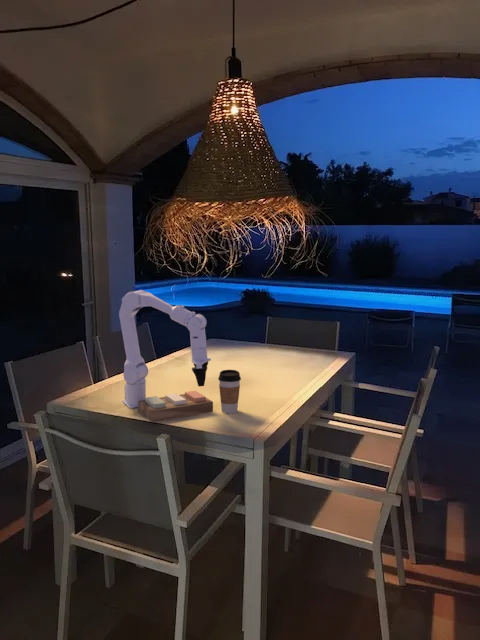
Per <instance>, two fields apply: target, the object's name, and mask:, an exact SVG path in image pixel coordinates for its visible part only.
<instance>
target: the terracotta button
mask: <svg viewBox="0 0 480 640" xmlns="http://www.w3.org/2000/svg"><path fill="white" fill-rule="evenodd" d="M184 394H185V397H187V398H188V399H190V400H191V401H193V402H201V401H206V398H207V397H206V396H205V395H204V394H202V393H200V392H199V391H197V390H192V391H191V390H190V391H185V392H184Z"/></svg>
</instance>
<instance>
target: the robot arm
mask: <svg viewBox="0 0 480 640" xmlns="http://www.w3.org/2000/svg"><path fill="white" fill-rule="evenodd" d="M144 307H152V308H153V309H156V310H159V311H161V312H162V313H165V314H168V315H169V317H170V319H171V320H172V321H175V322H176V323H178V324H180V325H182V326H185V327H186V328H187V330H188V331H189V337H190V339H189V340H190V352H191V353H190V354H191V363H192V364H193V366H194V367H192V368H191V371H192V373H193V374H194V376H195V379H196V383H197V386H198V387H205V382H206V378H207V377H206V376H207V371H208V365H209V362H210V361H211V360H212V359H211V357H208V348H207V335H206V327H207V323H208V322H207V318H205V316H204V315H203V314H201V313H197V314H196V312H195V311H190V310H188V309H187V308H185V306H184V305H182V304H181V305H175V306H173V305H171V304H170V303H168V302H166V301H165V300H163V299H160V298H159V297H157V296H156V295H154V294H152V293H151V292H149V291H145V290H144V289H138V290H135V291H129V292H127V293H126V294H125V295H124V296H123V297H122V298H121V304H120V309H119V311H118V317H119V322H120V328H121V334H122V339H123V346H124V351H125V355H126V356H125V358H126V360H125V361H124V365H123V367H124V371H123V380H124V381H125V383H124V386H123V387H124V399H123V400H122V401H121V402H122V403H123V404H124V405H125V406H127V407H128V408H129V409H134V408H138V401H139V400H145V398H147V394H146V393H147V392H146V391H147V390H146V389H147V387H146V386H147V385H146V384H147V382H146V381H147V380H146V377H147V376H148V374H149V368H148V366H147V364H146V363H145V359H144V358H143V357H142V355H141V351H140V345H139V344H140V343H139V337H138V331H137V327H136V326H137V325H136V320H135V316H136V314H137V313H138V312H139V311H140V309H142V308H144Z"/></svg>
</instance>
